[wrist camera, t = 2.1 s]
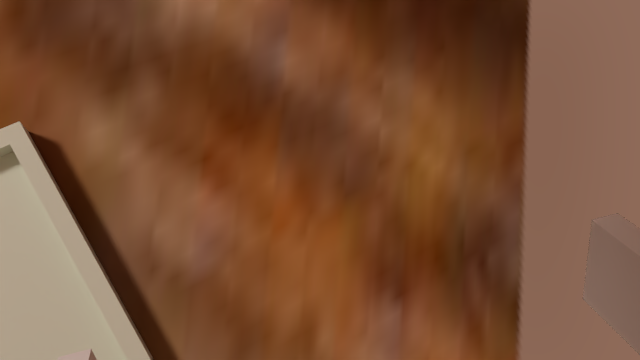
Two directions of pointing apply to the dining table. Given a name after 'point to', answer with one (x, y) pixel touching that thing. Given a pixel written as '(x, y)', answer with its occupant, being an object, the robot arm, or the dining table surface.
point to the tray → (52, 269)
